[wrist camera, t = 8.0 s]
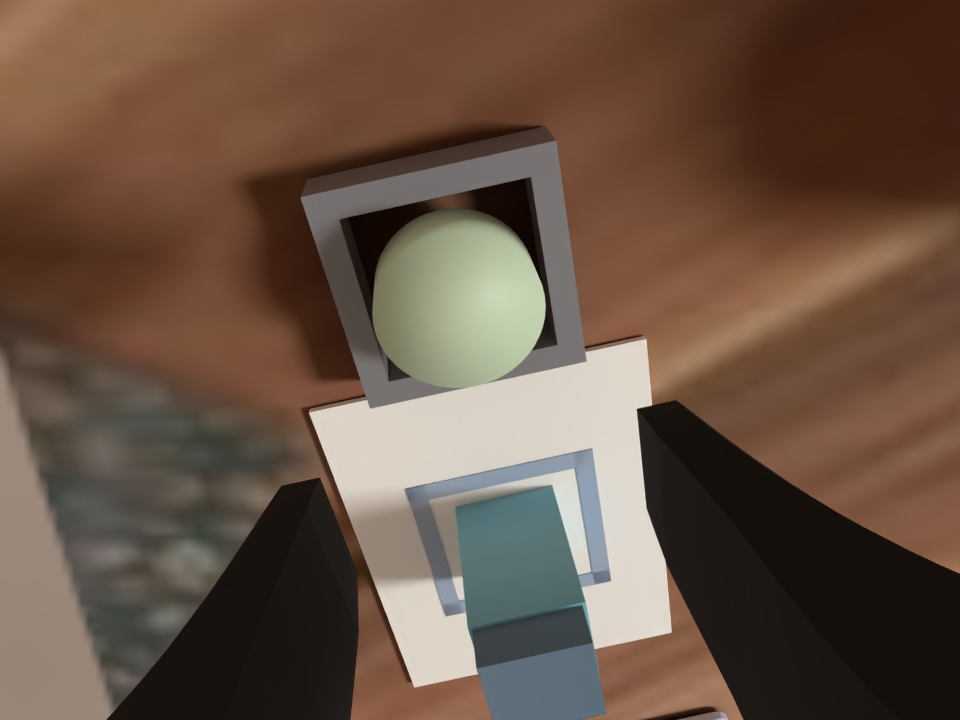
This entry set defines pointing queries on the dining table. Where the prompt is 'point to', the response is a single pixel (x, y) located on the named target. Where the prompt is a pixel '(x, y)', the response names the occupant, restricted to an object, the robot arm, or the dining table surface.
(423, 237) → the button
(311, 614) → the robot arm
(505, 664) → the teal block
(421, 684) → the paper
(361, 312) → the button housing
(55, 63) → the dining table surface
